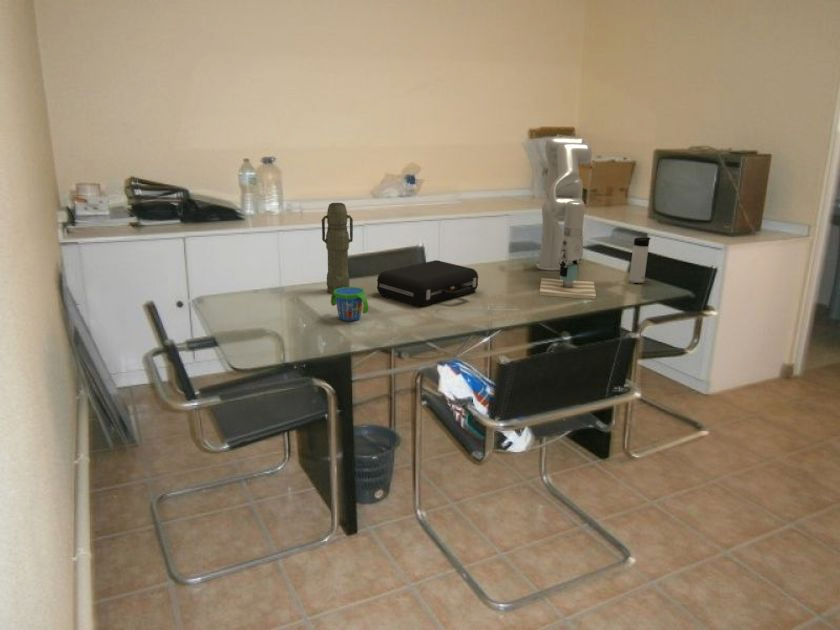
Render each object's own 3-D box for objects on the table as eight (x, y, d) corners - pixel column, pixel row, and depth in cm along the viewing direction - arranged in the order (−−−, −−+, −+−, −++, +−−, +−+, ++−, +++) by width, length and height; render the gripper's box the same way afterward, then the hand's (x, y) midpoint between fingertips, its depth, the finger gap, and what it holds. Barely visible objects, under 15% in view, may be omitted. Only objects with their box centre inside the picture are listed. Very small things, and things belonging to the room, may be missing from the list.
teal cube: (557, 278, 271) (558, 264, 269) (566, 276, 275) (567, 262, 273) (570, 281, 266) (571, 267, 264) (579, 279, 271) (580, 265, 269)
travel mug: (646, 284, 284) (652, 239, 278) (631, 284, 284) (636, 238, 278) (642, 280, 290) (647, 236, 284) (627, 280, 290) (632, 235, 284)
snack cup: (323, 316, 231) (322, 288, 227) (346, 310, 238) (345, 283, 235) (353, 327, 221) (352, 298, 217) (375, 320, 228) (375, 292, 225)
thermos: (320, 289, 264) (319, 202, 253) (349, 287, 268) (348, 201, 257) (326, 295, 256) (324, 205, 245) (355, 293, 260) (354, 204, 249)
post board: (541, 281, 284) (542, 260, 282) (593, 285, 280) (595, 263, 277) (539, 295, 264) (541, 272, 261) (595, 299, 260) (598, 276, 257)
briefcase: (431, 314, 238) (432, 287, 234) (373, 295, 258) (373, 271, 255) (493, 295, 263) (494, 271, 260) (435, 280, 283) (435, 257, 280)
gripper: (567, 235, 256) (563, 280, 262) (592, 231, 268) (588, 273, 273) (552, 233, 262) (548, 276, 267) (577, 228, 273) (573, 270, 278)
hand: (568, 274), depth 270 cm, fingers open, 6 cm apart
